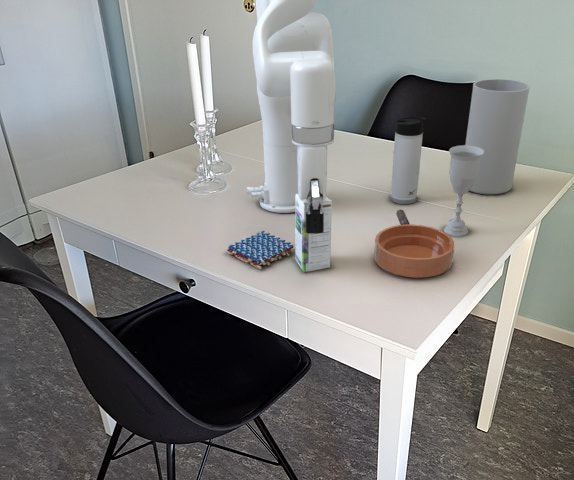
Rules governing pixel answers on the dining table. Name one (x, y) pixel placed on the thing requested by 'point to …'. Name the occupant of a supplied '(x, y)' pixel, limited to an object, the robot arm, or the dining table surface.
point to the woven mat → (260, 249)
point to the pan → (414, 250)
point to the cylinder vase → (496, 131)
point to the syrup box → (312, 237)
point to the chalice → (462, 181)
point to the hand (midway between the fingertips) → (313, 221)
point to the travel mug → (406, 159)
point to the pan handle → (402, 217)
